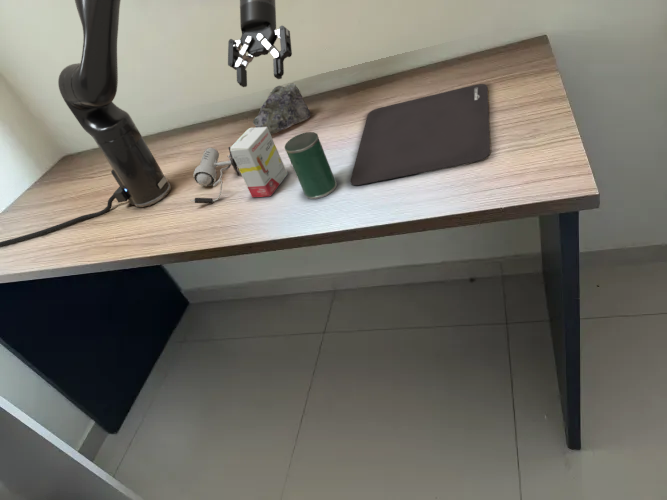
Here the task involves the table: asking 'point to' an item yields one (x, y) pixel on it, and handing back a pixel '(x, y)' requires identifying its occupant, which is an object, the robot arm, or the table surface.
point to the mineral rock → (282, 109)
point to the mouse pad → (424, 135)
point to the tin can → (311, 165)
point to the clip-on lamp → (211, 171)
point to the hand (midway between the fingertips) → (260, 82)
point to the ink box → (259, 161)
